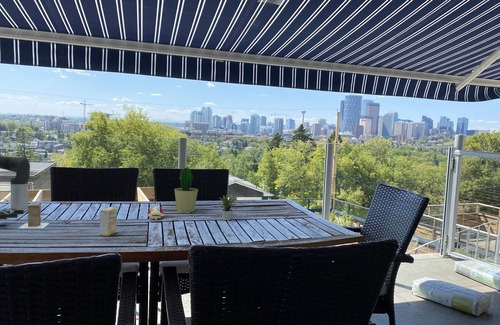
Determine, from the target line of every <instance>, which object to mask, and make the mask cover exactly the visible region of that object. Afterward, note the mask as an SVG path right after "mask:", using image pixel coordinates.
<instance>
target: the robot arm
mask: <svg viewBox="0 0 500 325" xmlns="http://www.w3.org/2000/svg"><path fill="white" fill-rule="evenodd" d="M0 169H2V170H5V171H9V172H13V173H15V176H14V177H12V178H11V179H10V208H3V209H0V220H6V219H17V218H18V217H19V216H18V215H24V213H28V206H29V180H30V176H31V175H30V174H31V173H30V172H31V163H30V161H29V159H28V158H26V157H19V156H18V157H17V156H4V155H0Z"/></svg>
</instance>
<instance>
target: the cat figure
mask: <svg viewBox="0 0 500 325" xmlns="http://www.w3.org/2000/svg"><path fill="white" fill-rule="evenodd" d="M164 214H165V213H164V210H163V209H162V208H160V207H157V200H154V207H151V208H149V209H148V211H147V213H146V215H147V217H150V219H152V220H153V219H154V220H158V218H159V219H161V218H162V217H164V216H165V215H164Z"/></svg>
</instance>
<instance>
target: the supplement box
mask: <svg viewBox="0 0 500 325" xmlns="http://www.w3.org/2000/svg"><path fill="white" fill-rule="evenodd" d="M117 212H118V207H111V206H109V207H105V208H103V209H100V210H99V236H101V237H109V236H111V235H113V234H116V233H117V225H118V224H117V222H118V221H117V216H118V213H117Z"/></svg>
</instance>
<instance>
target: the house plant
mask: <svg viewBox="0 0 500 325" xmlns="http://www.w3.org/2000/svg"><path fill="white" fill-rule="evenodd" d="M222 196H223V197H222V198H221V197H220V196H219V200H221V202H222V203H220V202H217V204H218V205H220V206H222V209H221V217H222V221H223V220H231V221H232V217H233V209H232V208H233V207H235V206H237V204H238V203H234V202H236V201H237V202H238V201H239V200H238V199H237V197H236V198H234V195H233V194H231V195H230V196H229V197H228V194H227V193H226V194H225V195H224V194H223V195H222ZM225 196H226V197H225Z"/></svg>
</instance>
